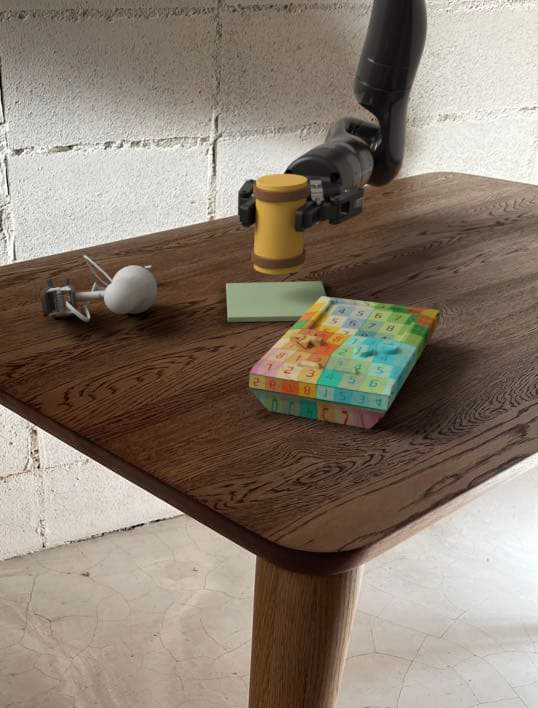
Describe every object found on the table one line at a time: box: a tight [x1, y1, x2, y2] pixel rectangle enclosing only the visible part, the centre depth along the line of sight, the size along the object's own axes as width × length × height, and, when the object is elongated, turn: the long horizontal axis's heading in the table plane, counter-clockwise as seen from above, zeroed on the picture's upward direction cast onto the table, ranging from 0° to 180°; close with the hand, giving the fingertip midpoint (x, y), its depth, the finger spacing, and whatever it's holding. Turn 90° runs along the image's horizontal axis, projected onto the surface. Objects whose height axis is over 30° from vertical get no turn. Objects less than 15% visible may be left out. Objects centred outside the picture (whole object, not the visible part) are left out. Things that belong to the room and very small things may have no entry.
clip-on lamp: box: [40, 254, 158, 323], centre depth 96 cm, size 12×6×18 cm
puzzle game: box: [248, 296, 442, 430], centre depth 79 cm, size 12×5×20 cm
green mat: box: [225, 280, 327, 323], centre depth 97 cm, size 11×11×1 cm
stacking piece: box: [250, 173, 310, 275], centre depth 92 cm, size 6×6×9 cm
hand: (271, 219), depth 90 cm, fingers closed on stacking piece, 5 cm apart
